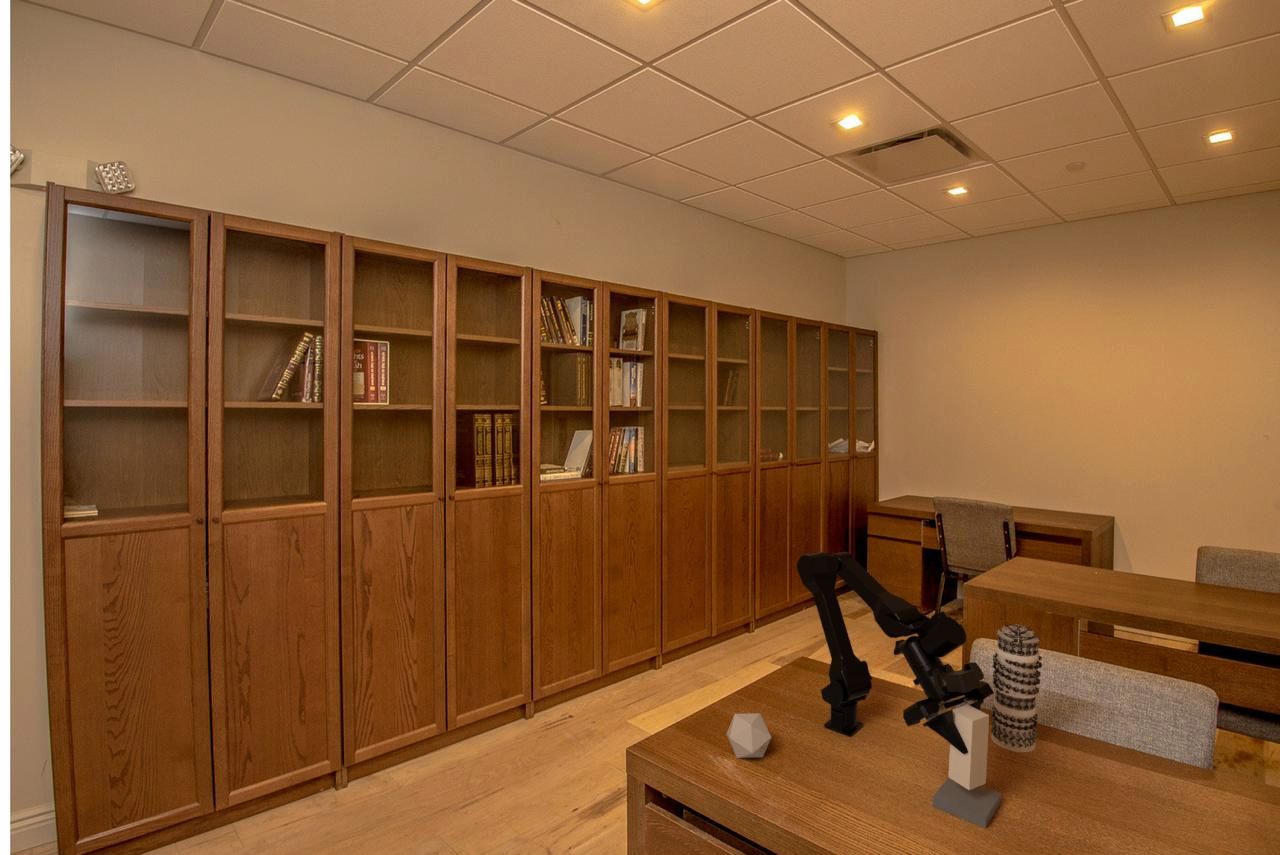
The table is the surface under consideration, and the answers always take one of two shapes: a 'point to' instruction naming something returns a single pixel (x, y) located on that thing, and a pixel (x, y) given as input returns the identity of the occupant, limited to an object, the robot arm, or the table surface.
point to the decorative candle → (1015, 688)
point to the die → (748, 735)
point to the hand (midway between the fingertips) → (975, 749)
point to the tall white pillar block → (970, 747)
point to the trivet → (967, 802)
